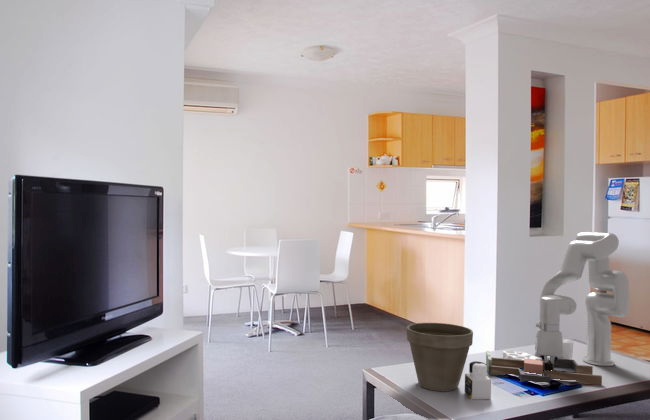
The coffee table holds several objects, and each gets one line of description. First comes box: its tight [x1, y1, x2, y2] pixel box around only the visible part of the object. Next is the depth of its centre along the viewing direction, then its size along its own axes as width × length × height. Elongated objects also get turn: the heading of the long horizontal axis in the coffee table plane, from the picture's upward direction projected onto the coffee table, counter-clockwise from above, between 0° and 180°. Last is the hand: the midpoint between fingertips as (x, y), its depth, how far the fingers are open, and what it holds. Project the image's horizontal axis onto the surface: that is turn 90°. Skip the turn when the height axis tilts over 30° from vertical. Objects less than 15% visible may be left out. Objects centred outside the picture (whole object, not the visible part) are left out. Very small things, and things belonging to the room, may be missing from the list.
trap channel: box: [485, 350, 603, 386], centre depth 211 cm, size 30×42×6 cm
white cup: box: [563, 338, 574, 360], centre depth 229 cm, size 8×8×10 cm
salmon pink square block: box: [523, 359, 544, 376], centre depth 214 cm, size 7×7×4 cm
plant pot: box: [406, 322, 474, 392], centre depth 195 cm, size 25×25×22 cm
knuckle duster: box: [502, 350, 544, 362], centre depth 229 cm, size 3×18×15 cm
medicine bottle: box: [464, 360, 492, 401], centre depth 184 cm, size 7×7×12 cm
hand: (548, 371), depth 210 cm, fingers closed
